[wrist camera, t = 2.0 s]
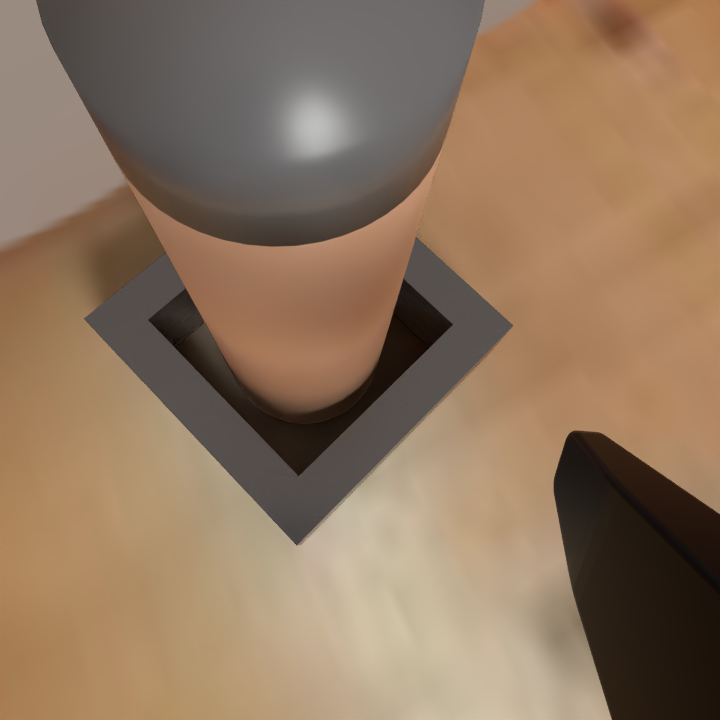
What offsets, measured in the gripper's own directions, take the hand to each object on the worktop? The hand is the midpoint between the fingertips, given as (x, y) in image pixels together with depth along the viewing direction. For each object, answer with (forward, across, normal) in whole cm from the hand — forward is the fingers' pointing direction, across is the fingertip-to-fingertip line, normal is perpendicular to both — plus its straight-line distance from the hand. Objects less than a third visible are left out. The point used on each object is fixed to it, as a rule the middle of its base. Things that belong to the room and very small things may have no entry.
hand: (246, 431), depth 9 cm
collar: (+12, 0, +5) cm, 13 cm away
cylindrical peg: (+12, 0, +5) cm, 13 cm away
